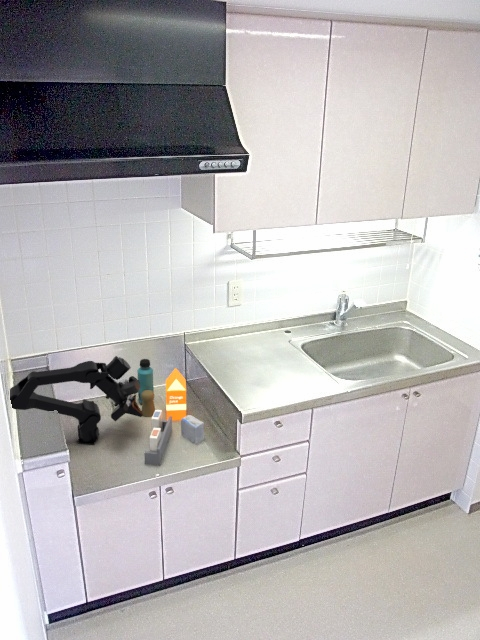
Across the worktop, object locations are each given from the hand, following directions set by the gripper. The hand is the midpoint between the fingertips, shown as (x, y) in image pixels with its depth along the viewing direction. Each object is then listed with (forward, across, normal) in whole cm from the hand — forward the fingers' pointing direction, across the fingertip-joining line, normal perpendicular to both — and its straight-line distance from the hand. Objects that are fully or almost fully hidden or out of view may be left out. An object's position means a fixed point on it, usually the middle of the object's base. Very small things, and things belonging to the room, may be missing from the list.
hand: (142, 415), depth 200 cm
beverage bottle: (+4, +23, +10) cm, 26 cm away
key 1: (+11, -12, +1) cm, 16 cm away
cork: (+6, +15, +8) cm, 18 cm away
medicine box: (+20, +1, -6) cm, 21 cm away
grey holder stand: (+12, -6, +2) cm, 14 cm away
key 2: (+10, 0, +2) cm, 10 cm away
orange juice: (+14, +15, 0) cm, 21 cm away
